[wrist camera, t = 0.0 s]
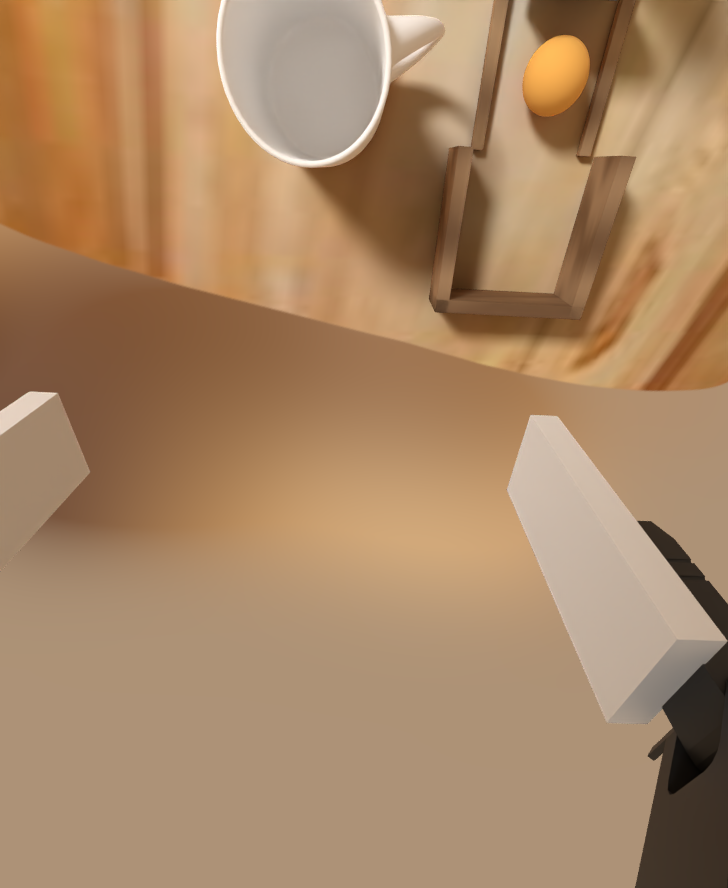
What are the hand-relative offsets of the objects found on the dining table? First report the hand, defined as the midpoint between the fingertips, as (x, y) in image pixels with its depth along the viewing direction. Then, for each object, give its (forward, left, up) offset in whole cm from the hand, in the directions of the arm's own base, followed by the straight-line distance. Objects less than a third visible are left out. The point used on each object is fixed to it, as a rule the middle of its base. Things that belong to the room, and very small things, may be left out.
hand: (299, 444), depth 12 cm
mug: (-11, 0, -28) cm, 30 cm away
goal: (-3, +14, -28) cm, 31 cm away
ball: (-12, +14, -26) cm, 32 cm away
